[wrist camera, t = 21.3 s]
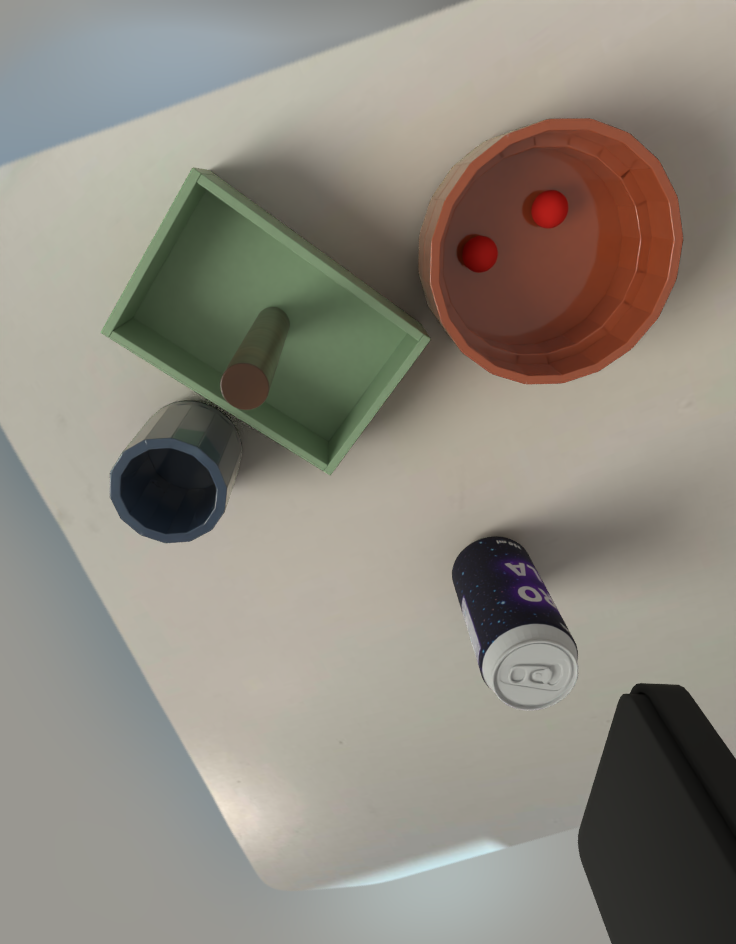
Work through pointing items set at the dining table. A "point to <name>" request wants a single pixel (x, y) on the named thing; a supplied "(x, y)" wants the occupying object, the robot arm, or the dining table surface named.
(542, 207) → the berry
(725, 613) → the dining table surface
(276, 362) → the stick
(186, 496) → the holder
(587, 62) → the dining table surface
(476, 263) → the berry
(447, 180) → the bowl
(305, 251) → the tray
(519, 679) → the beverage can
